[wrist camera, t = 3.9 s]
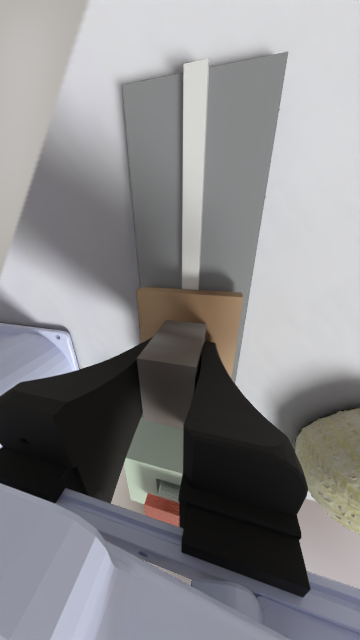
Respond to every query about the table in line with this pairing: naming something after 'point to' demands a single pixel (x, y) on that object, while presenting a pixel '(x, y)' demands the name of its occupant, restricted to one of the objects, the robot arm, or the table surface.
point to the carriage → (181, 345)
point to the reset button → (164, 504)
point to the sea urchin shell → (333, 465)
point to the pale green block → (153, 459)
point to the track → (202, 173)
